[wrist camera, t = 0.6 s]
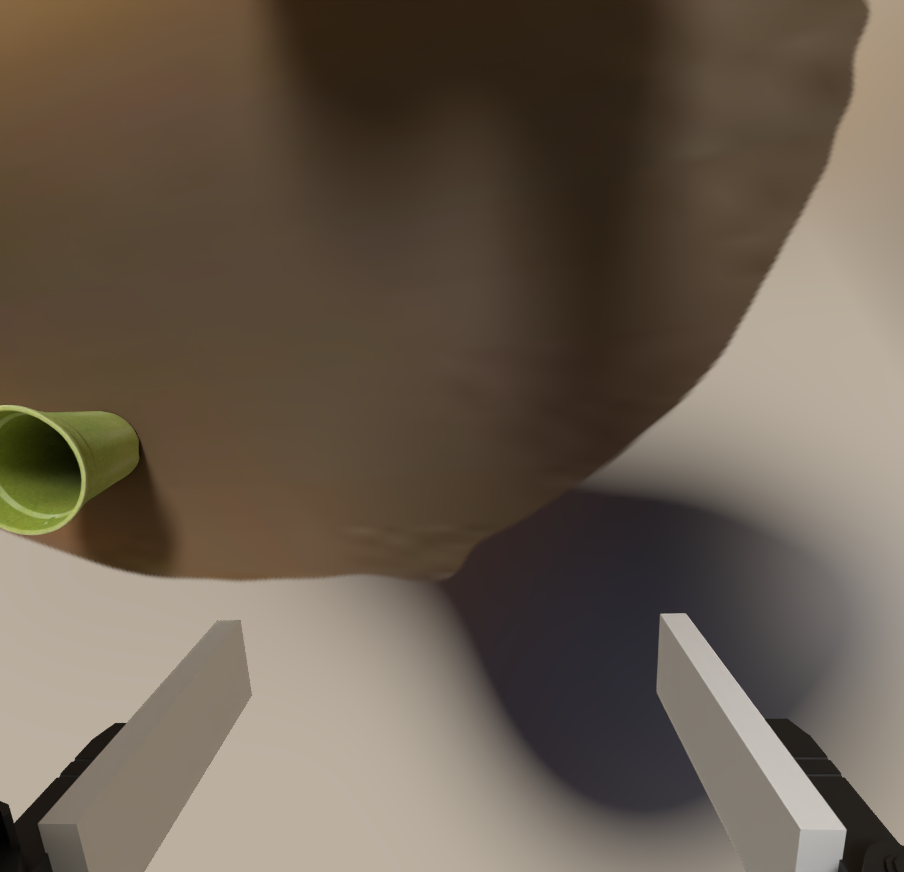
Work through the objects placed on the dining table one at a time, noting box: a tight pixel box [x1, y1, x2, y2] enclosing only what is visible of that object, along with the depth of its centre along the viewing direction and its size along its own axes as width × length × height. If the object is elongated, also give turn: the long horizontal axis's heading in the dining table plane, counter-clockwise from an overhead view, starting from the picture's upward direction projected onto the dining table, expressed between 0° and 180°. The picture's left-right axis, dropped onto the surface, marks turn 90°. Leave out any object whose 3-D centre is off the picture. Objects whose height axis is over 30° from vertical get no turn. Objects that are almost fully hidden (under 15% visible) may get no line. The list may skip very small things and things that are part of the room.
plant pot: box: [0, 405, 139, 535], centre depth 39 cm, size 9×9×9 cm
